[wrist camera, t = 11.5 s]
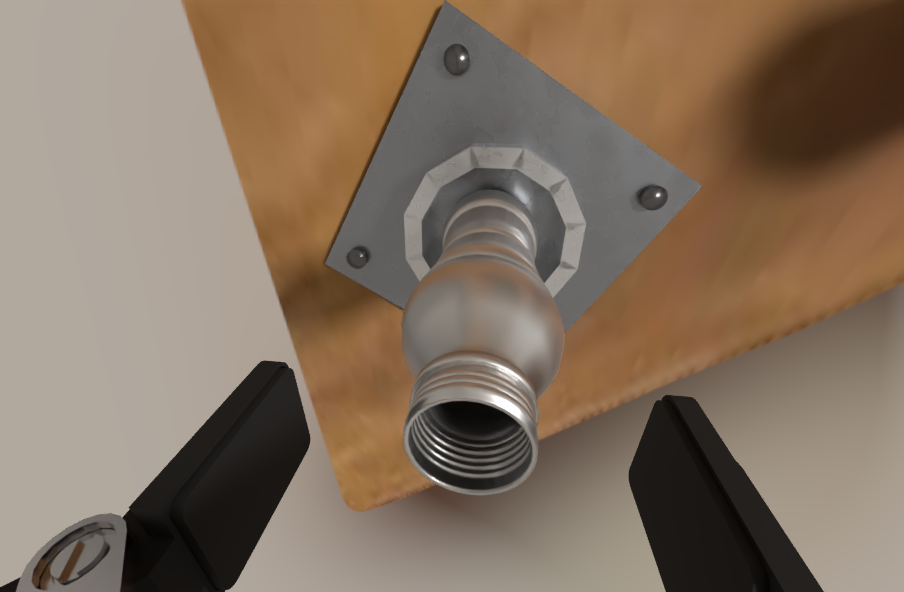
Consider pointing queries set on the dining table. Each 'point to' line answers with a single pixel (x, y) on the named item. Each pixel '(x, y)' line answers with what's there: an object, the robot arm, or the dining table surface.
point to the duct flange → (504, 172)
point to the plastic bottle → (480, 350)
